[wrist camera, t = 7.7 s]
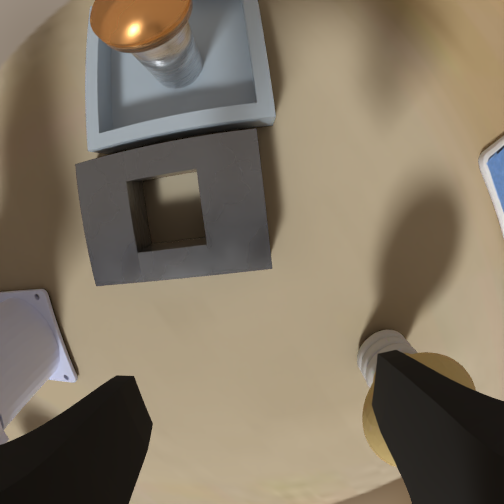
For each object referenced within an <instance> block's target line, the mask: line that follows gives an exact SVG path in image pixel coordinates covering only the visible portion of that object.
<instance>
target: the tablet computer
mask: <svg viewBox="0 0 504 504" xmlns="http://www.w3.org/2000/svg"><path fill="white" fill-rule="evenodd" d="M478 163H479V168H480V171H481V174H482V176H483V179H484V181H485V184H486V186H487V189H488V191H489V194H490V197H491V200H492V202H493V205H494V208H495V211H496V214H497V217H498V220H499V224H500V227H501V231H502V234H503V238H504V135H503V136H502V137H501V138H500V139H498V140H497V141H496V142H495V143H493V144H492V145H491V146H489V147H488V148H487V149H485V150H484V151H483V152H482V153H481V154H480V156H479V160H478Z"/></svg>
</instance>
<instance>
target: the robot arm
mask: <svg viewBox="0 0 504 504" xmlns="http://www.w3.org/2000/svg"><path fill="white" fill-rule="evenodd" d="M37 294H38V295H39V297H38V295H37ZM48 379H49V380H56V381H64V382H76V381H77V379H78V377H77V374H76V372H75V370H74V367H73V365H72V362H71V360H70V357H69V355H68V352H67V350H66V347H65V344H64V342H63V339H62V336H61V333H60V330H59V327H58V324H57V321H56V318H55V315H54V312H53V309H52V305H51V302H50V299H49V295H48V293H47V291H46V290H44V289H32V290H19V291H6V292H0V504H129V501H130V498H131V496H132V493H133V490H134V487H135V484H136V481H137V479H138V476H139V473H140V470H141V468H142V465H143V462H144V459H145V456H146V453H147V450H148V446H149V441H150V436H151V430H152V425H153V423H152V421H151V418H150V416H149V414H148V411H147V409H146V406H145V404H144V401H143V399H142V396H141V394H140V391H139V388H138V386H137V383H136V380H135V378H134V376H115V377H114V378H112V379H110V380H109V381H107V382H106V383H104V384H103V385H101V386H100V387H98V388H97V389H96V390H94V391H93V392H91V393H90V394H89V395H87V396H86V397H84V398H83V399H81V400H80V401H79V402H77V403H76V404H74V405H73V406H71V407H70V408H69V409H67V410H66V411H64V412H63V413H61V414H59V415H58V416H56V417H55V418H53V419H51V420H50V421H48V422H47V423H45V424H44V425H42V426H40V427H38V428H37V429H35V430H33V431H31V432H29V433H27V434H25V435H23V436H21V437H19V438H17V439H14V440H12V441H10V442H7V441H8V440H9V438H8V436H7V435H6V434H5V432H4V429H5V428H6V427H7V425H8V424H9V423H10V422H11V421H12V420H13V418H14V417H15V416H16V415H17V414H18V413H19V411H20V410H21V409H22V408H23V407H24V406H25V404H26V403H27V402H28V401H29V400H30V399H31V398H32V397H33V395H34V394H35V393H36V392H37V391H38V390H39V389H40V388H41V386H42V385H43V384H44V383H45V382H46V381H47V380H48ZM372 408H373V411H374V414H375V417H376V420H377V423H378V426H379V429H380V432H381V434H382V436H383V439H384V441H385V443H386V445H387V447H388V449H389V451H390V453H391V455H392V457H393V459H394V461H395V464H396V466H397V468H398V470H399V472H400V474H401V476H402V478H403V480H404V483H405V485H406V487H407V490H408V492H409V495H410V498H411V501H412V504H504V401H501V400H498V399H495V398H492V397H489V396H487V395H484V394H482V393H479V392H477V391H475V390H473V389H470V388H468V387H466V386H464V385H462V384H460V383H457V382H455V381H453V380H451V379H450V378H448V377H446V376H444V375H442V374H440V373H438V372H436V371H435V370H433V369H431V368H429V367H427V366H426V365H424V364H422V363H420V362H419V361H417V360H415V359H413V358H411V357H410V356H408V355H406V354H404V353H402V352H400V351H398V350H392V351H388V352H383V353H379V354H377V365H376V375H375V383H374V391H373V399H372ZM6 442H7V443H6Z"/></svg>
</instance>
